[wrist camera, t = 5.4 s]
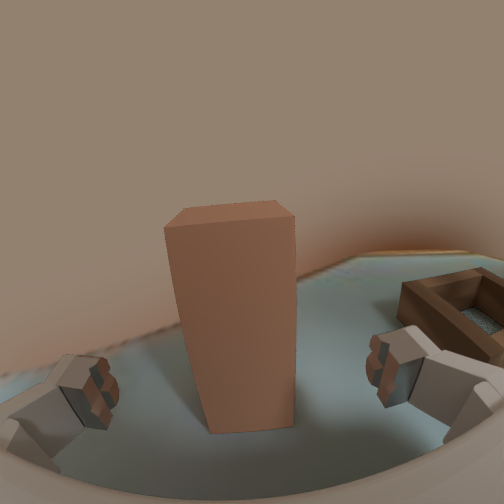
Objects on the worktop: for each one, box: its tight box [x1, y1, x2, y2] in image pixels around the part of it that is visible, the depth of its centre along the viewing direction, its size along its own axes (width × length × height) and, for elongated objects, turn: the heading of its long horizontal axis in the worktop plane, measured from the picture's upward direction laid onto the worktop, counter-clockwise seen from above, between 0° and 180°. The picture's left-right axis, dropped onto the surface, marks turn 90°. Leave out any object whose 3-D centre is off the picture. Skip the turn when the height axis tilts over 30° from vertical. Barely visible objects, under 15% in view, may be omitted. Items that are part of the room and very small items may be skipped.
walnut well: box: [397, 267, 504, 369], centre depth 14 cm, size 10×10×3 cm
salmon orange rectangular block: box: [164, 200, 296, 434], centre depth 12 cm, size 4×4×10 cm
